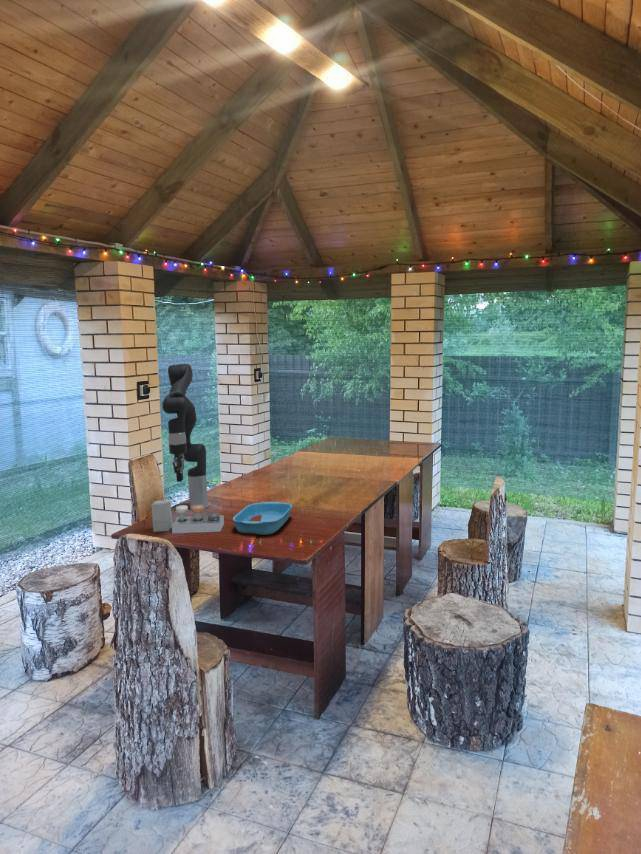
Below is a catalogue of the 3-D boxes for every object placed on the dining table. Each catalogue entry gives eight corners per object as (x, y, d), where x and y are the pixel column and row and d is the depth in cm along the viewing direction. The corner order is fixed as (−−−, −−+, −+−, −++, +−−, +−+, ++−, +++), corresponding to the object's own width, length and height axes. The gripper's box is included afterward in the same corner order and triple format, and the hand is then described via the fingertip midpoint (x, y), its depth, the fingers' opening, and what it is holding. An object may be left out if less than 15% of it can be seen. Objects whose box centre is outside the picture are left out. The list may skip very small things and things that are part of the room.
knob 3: (209, 527, 267) (208, 512, 266) (221, 526, 267) (220, 512, 266) (207, 530, 261) (206, 516, 261) (219, 530, 262) (218, 515, 261)
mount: (178, 527, 270) (177, 516, 269) (224, 525, 270) (223, 515, 269) (172, 535, 258) (171, 524, 257) (220, 533, 258) (219, 522, 258)
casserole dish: (252, 514, 289) (252, 499, 288) (296, 515, 284) (296, 500, 283) (226, 538, 253) (226, 522, 252) (277, 539, 248) (276, 523, 248)
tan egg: (193, 519, 266) (192, 504, 265) (205, 518, 266) (204, 504, 265) (191, 522, 261) (190, 508, 260) (203, 522, 261) (202, 507, 260)
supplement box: (172, 526, 271) (171, 499, 270) (169, 531, 264) (167, 504, 262) (156, 527, 271) (155, 500, 270) (152, 532, 264) (150, 504, 262)
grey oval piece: (178, 519, 266) (177, 505, 265) (189, 519, 266) (188, 505, 265) (175, 523, 261) (174, 508, 260) (187, 522, 261) (186, 508, 260)
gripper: (172, 440, 265) (175, 477, 268) (165, 445, 252) (167, 484, 254) (189, 439, 265) (191, 477, 268) (182, 444, 252) (185, 484, 254)
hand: (180, 480), depth 261 cm, fingers closed
